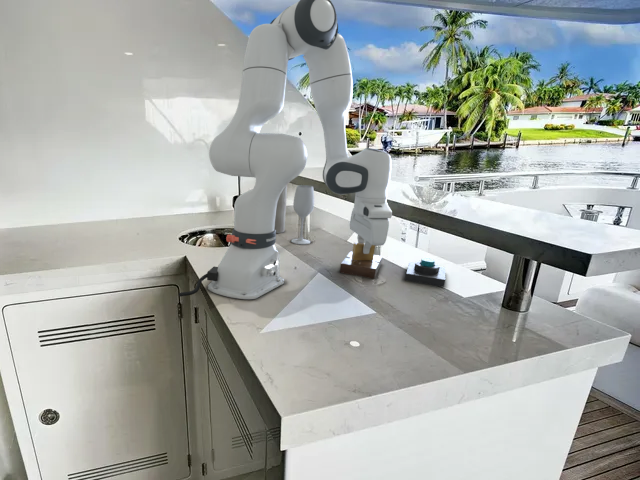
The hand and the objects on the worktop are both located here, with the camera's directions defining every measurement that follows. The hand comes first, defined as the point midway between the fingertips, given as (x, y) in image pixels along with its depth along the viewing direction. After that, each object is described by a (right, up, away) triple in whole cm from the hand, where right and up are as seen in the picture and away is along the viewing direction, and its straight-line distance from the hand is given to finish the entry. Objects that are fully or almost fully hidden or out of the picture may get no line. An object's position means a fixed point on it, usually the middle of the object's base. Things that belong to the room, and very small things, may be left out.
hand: (363, 251), depth 116 cm
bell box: (+17, -8, -4) cm, 19 cm away
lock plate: (0, -5, +2) cm, 6 cm away
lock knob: (0, -2, +1) cm, 3 cm away
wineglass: (-14, +5, +30) cm, 33 cm away
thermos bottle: (-23, +10, +45) cm, 52 cm away
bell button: (+17, -4, -5) cm, 18 cm away
